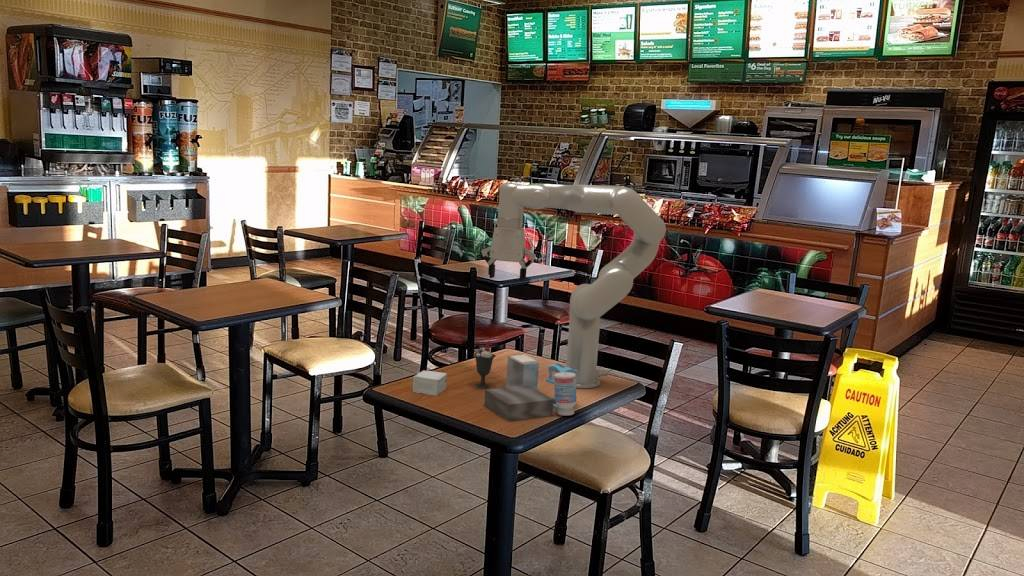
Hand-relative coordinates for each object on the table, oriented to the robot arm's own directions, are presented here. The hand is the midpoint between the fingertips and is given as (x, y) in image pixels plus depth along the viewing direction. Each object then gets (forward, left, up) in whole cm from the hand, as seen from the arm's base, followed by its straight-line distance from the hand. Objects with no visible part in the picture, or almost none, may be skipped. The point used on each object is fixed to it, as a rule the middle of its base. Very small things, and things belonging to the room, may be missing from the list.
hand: (506, 279), depth 241 cm
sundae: (+9, +5, -32) cm, 34 cm away
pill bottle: (-1, +34, -21) cm, 40 cm away
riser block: (+9, +28, -33) cm, 44 cm away
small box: (+26, +3, -33) cm, 42 cm away
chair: (-5, +27, -32) cm, 42 cm away
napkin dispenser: (0, +13, -32) cm, 35 cm away
